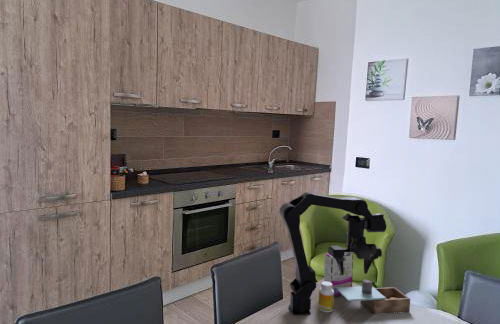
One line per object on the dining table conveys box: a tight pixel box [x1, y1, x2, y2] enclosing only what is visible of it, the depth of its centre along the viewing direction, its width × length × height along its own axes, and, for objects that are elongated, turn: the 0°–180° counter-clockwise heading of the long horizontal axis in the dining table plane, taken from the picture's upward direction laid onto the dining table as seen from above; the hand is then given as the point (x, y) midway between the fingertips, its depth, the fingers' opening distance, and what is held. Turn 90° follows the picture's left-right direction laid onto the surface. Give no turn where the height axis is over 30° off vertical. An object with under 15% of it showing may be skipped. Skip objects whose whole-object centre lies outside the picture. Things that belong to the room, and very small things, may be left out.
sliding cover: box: [337, 279, 386, 302], centre depth 129 cm, size 14×10×5 cm
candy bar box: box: [323, 252, 354, 298], centre depth 142 cm, size 11×5×16 cm, turn 117°
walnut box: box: [360, 286, 411, 315], centre depth 131 cm, size 14×10×5 cm
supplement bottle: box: [317, 280, 335, 313], centre depth 128 cm, size 5×5×10 cm
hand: (353, 274), depth 129 cm, fingers open, 9 cm apart
